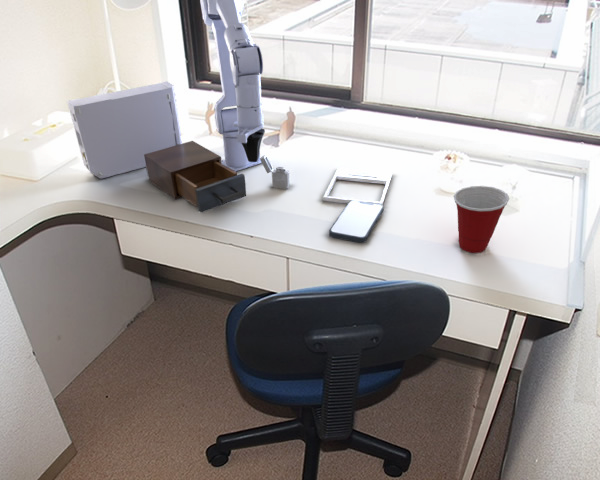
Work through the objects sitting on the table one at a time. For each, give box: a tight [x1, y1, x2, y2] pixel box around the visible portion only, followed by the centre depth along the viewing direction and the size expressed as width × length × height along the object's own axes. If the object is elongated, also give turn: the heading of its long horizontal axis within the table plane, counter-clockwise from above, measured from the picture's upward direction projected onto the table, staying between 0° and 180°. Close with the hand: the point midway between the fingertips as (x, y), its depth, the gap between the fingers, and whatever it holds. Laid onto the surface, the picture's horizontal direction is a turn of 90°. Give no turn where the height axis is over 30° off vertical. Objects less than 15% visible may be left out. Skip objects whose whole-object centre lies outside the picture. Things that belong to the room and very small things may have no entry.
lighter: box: [260, 154, 290, 190], centre depth 142 cm, size 7×2×8 cm, turn 74°
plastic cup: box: [453, 185, 510, 254], centre depth 116 cm, size 11×11×12 cm
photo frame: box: [322, 167, 393, 206], centre depth 142 cm, size 15×1×18 cm
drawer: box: [174, 161, 247, 213], centre depth 136 cm, size 18×13×6 cm
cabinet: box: [144, 140, 222, 200], centre depth 145 cm, size 14×14×7 cm
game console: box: [66, 81, 183, 179], centre depth 150 cm, size 6×27×20 cm, turn 124°
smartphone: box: [328, 200, 385, 244], centre depth 127 cm, size 9×2×16 cm
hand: (253, 160), depth 134 cm, fingers closed
